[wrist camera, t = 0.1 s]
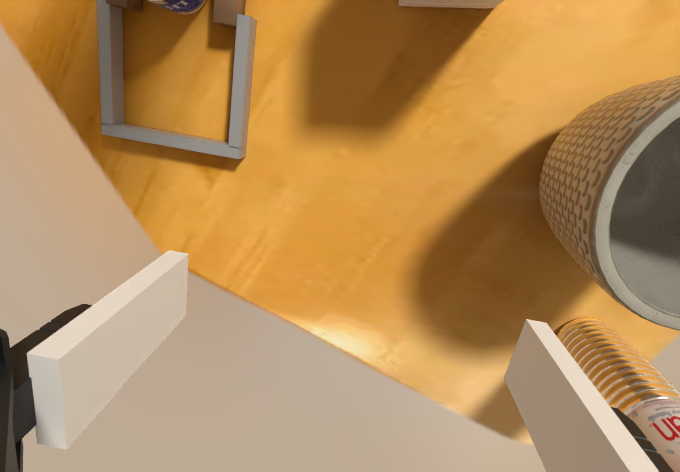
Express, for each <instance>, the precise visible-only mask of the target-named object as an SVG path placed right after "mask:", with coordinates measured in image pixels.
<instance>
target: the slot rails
mask: <svg viewBox="0 0 680 472" xmlns="http://www.w3.org/2000/svg"><path fill="white" fill-rule="evenodd" d="M106 3H107V4H110V5H112V6H115V7H118V8H121V9H125V10H131V11H137V12H142V13H143V6H142V0H106ZM245 3H246V0H214V12H213V22H215V23H217V24H219V25H221V26H224V27H230V28H236V27H237V14H241V15H245Z"/></svg>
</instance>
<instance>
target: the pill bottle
mask: <svg viewBox="0 0 680 472" xmlns="http://www.w3.org/2000/svg"><path fill="white" fill-rule="evenodd" d="M148 1H150V2H152V3H154V4H157V5H159V6H161V7H164V8H166V9H168V10H170V11H173V12H175V13H178V14H192V13H194V12H196V11H198V10H199V9H200V8H201V7H202V6H203V5H204V4H205V2H206V0H148Z"/></svg>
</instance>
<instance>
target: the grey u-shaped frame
mask: <svg viewBox="0 0 680 472" xmlns="http://www.w3.org/2000/svg"><path fill="white" fill-rule="evenodd" d="M97 21H98V48H99V75H100V102H101V129H102V134H103V135H108V136H114V137H119V138H125V139H130V140H136V141H141V142H147V143H152V144H158V145H163V146H169V147H174V148H180V149H185V150H191V151H196V152H202V153H207V154H213V155H218V156H224V157H229V158H235V159H241V158H243V157H245V154H246V142H247V130H248V118H249V106H250V94H251V82H252V70H253V58H254V46H255V34H256V22H257V20H255V19H254V18H252V17H251V16H247V15H241V14H237V27H236V41H235V56H234V70H233V85H232V100H231V114H230V129H229V142H226V141H220V140H215V139H209V138H204V137H198V136H192V135H187V134H181V133H176V132H170V131H165V130H159V129H154V128H148V127H142V126H137V125H131V124H126V123H125V119H124V64H123V9H121V8H118V7H115V6H112V5H110V4H107V3H106V0H97Z"/></svg>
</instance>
